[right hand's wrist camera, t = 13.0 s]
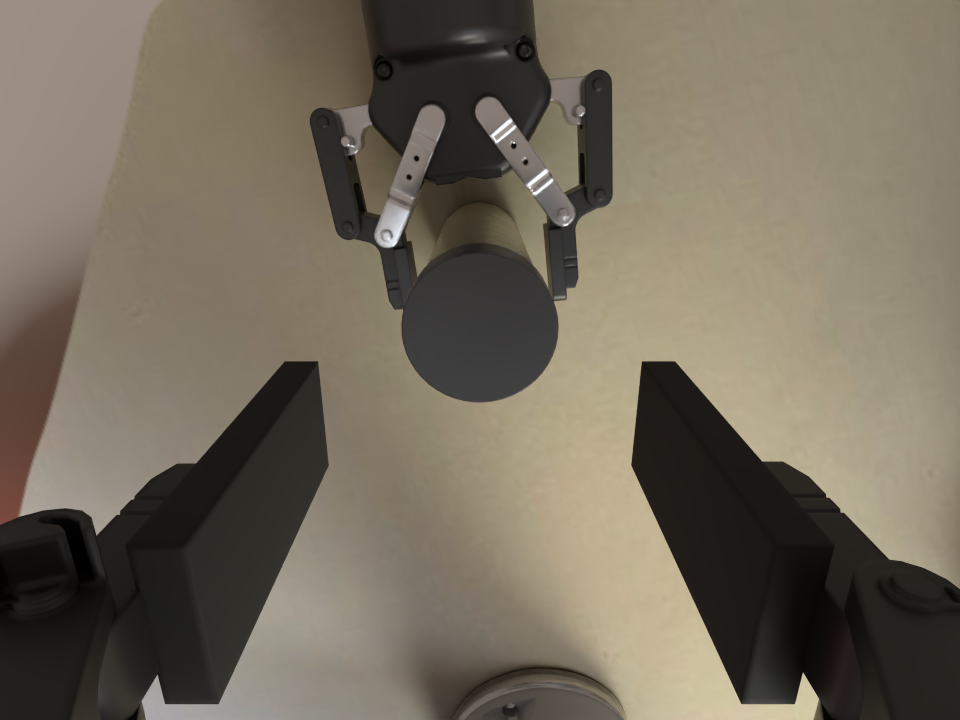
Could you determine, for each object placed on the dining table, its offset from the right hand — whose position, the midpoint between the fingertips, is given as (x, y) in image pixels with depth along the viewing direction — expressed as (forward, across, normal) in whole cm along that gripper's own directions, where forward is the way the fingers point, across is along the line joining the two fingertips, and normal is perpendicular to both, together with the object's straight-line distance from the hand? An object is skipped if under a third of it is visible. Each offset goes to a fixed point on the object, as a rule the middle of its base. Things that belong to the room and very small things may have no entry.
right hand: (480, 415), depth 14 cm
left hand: (+18, 0, -2) cm, 18 cm away
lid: (+7, 0, 0) cm, 7 cm away
